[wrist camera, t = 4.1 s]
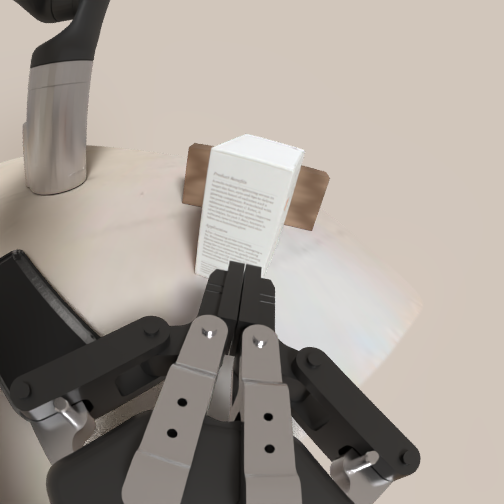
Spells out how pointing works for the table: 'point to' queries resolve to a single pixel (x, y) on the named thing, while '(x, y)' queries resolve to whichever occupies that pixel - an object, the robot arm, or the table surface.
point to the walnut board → (302, 202)
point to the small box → (245, 202)
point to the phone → (33, 322)
